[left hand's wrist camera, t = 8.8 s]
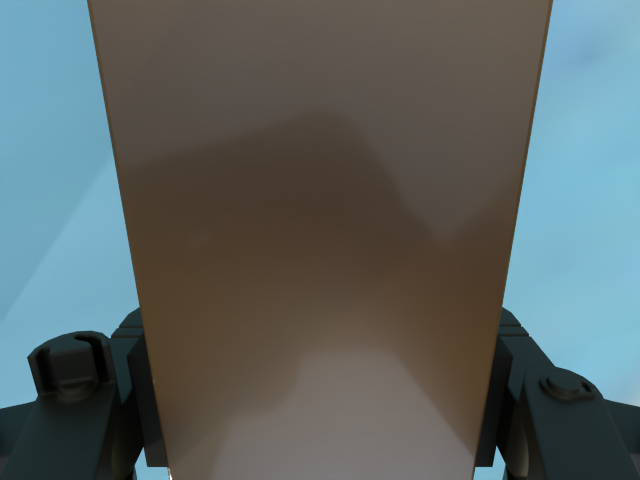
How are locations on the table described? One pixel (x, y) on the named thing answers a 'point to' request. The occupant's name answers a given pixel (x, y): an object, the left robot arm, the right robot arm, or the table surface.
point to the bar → (320, 223)
